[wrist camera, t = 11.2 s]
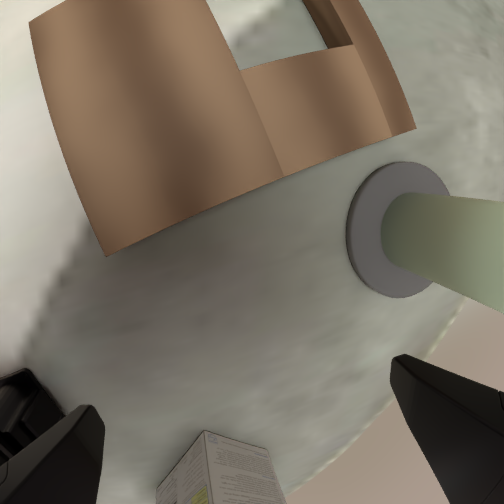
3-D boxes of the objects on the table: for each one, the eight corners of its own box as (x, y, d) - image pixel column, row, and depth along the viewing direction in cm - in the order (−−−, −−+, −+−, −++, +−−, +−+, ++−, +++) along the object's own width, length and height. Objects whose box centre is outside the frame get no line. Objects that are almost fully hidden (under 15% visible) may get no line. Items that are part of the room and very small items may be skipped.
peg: (374, 265, 21) (529, 342, 8) (386, 185, 20) (560, 201, 7) (428, 270, 22) (566, 330, 9) (441, 200, 21) (589, 225, 8)
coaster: (366, 316, 23) (372, 321, 22) (326, 189, 20) (333, 189, 19) (454, 260, 23) (462, 263, 22) (430, 147, 21) (438, 146, 20)
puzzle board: (118, 246, 18) (105, 257, 15) (45, 39, 14) (28, 22, 11) (391, 133, 20) (416, 128, 17) (303, -42, 16) (316, -62, 13)
